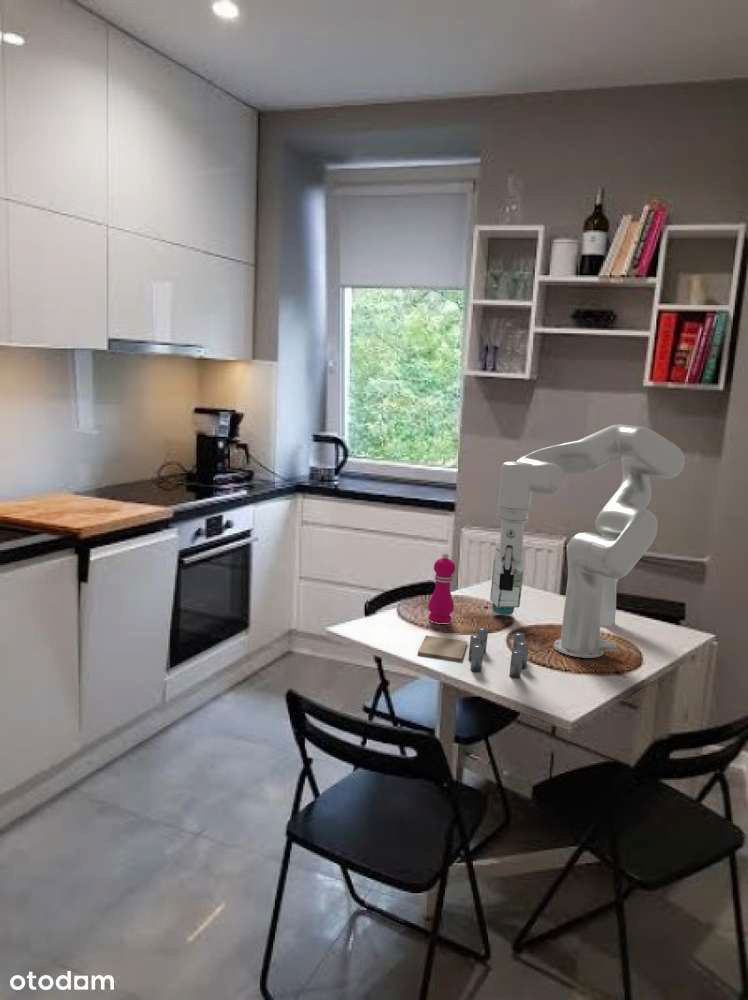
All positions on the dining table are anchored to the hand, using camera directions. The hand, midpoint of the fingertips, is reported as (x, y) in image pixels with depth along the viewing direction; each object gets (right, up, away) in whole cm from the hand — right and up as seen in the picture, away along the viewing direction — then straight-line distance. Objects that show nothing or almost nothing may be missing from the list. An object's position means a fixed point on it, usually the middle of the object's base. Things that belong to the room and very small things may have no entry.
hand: (506, 585), depth 183 cm
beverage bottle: (+6, -14, +41) cm, 44 cm away
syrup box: (0, -5, +1) cm, 5 cm away
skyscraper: (+36, -16, +42) cm, 57 cm away
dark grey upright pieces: (-2, -20, +3) cm, 20 cm away
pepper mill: (-13, -14, +32) cm, 37 cm away
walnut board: (-14, -18, +10) cm, 25 cm away
